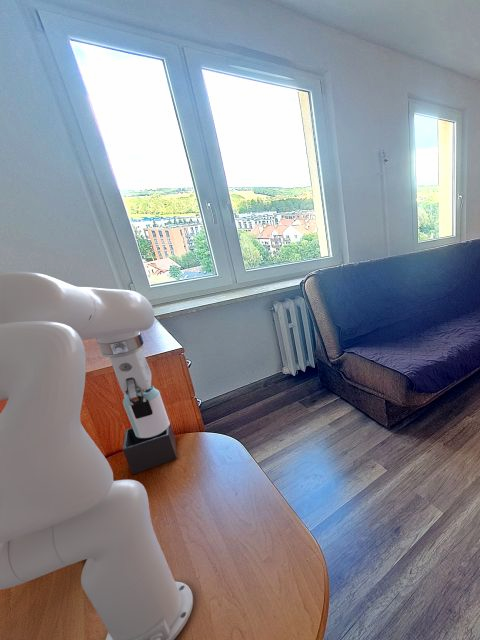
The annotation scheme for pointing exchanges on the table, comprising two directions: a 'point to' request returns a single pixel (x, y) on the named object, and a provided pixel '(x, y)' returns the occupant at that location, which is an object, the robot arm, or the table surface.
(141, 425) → the can
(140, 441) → the bin
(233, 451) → the table surface
